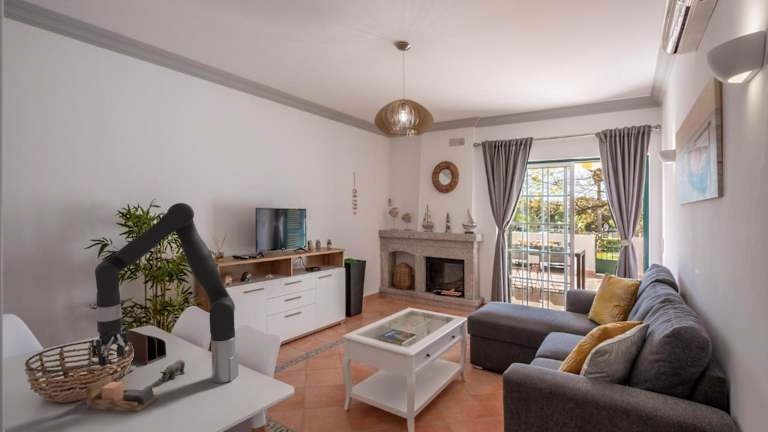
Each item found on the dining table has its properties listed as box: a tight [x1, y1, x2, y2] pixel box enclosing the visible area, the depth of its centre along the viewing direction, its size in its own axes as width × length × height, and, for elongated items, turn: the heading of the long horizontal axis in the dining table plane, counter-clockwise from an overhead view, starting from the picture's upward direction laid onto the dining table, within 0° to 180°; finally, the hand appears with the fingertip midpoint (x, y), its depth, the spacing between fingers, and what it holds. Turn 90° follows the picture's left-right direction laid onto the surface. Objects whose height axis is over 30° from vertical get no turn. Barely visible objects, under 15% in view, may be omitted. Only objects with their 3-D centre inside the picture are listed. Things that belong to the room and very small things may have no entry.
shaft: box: [123, 385, 154, 404], centre depth 145 cm, size 8×4×4 cm, turn 83°
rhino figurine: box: [158, 359, 186, 383], centre depth 165 cm, size 4×14×6 cm, turn 166°
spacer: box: [102, 381, 124, 401], centre depth 146 cm, size 4×4×6 cm
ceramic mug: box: [109, 354, 137, 375], centre depth 169 cm, size 11×8×8 cm
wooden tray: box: [85, 375, 157, 413], centre depth 145 cm, size 20×9×8 cm, turn 83°
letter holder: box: [124, 329, 167, 366], centre depth 185 cm, size 10×20×14 cm, turn 65°
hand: (111, 361), depth 145 cm, fingers open, 7 cm apart
